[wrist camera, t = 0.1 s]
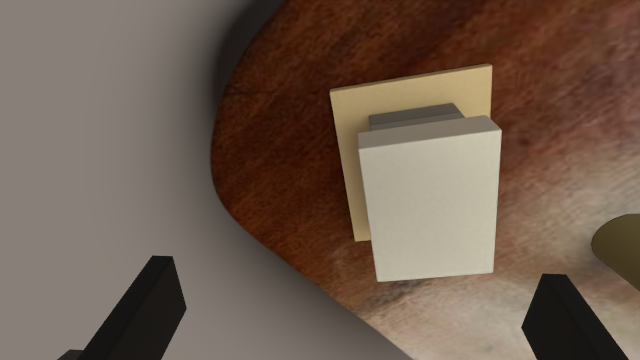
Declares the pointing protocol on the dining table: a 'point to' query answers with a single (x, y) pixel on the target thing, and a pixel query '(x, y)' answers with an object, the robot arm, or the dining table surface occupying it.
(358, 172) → the grey stack
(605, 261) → the pepper shaker
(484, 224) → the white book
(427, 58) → the dining table surface
